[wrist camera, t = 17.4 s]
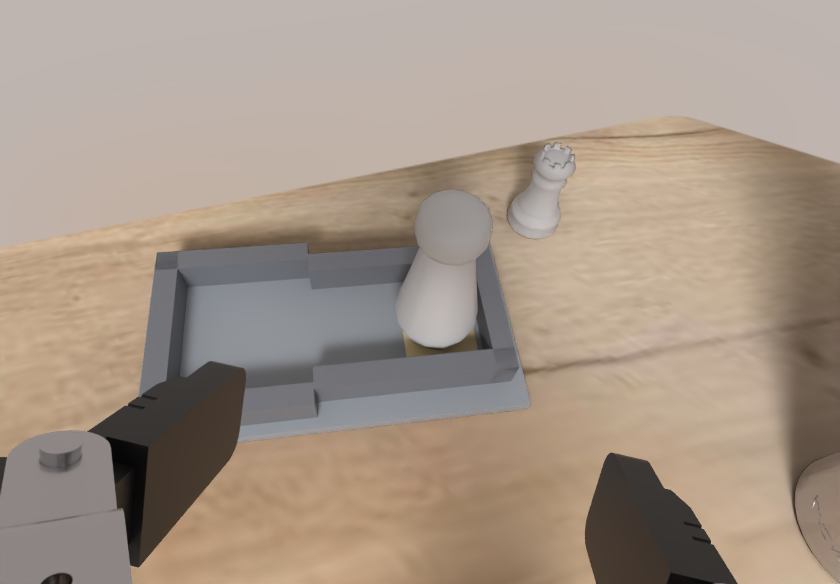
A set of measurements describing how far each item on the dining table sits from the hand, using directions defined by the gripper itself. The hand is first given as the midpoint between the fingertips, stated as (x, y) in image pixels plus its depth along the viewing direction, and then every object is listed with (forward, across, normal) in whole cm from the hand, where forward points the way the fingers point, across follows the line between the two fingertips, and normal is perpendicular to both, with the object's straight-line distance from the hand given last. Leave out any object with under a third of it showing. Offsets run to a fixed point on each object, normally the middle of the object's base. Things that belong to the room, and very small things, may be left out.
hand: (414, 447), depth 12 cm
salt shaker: (+28, +1, +6) cm, 29 cm away
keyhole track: (+27, +7, +8) cm, 29 cm away
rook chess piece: (+38, -6, -2) cm, 38 cm away
